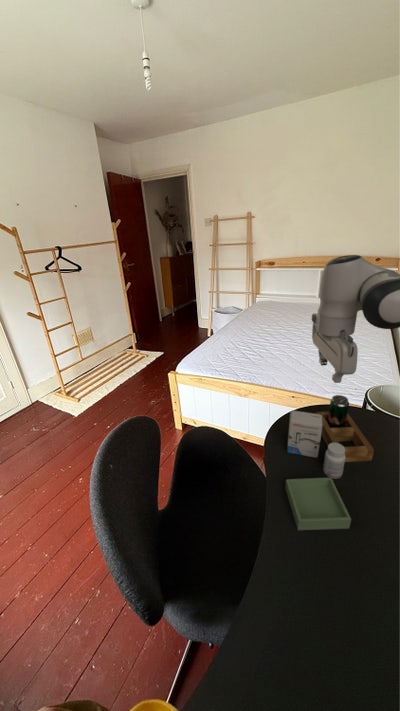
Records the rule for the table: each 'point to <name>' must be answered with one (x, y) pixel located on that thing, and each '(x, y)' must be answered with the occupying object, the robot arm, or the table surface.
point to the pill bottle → (334, 460)
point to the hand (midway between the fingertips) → (329, 372)
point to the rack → (347, 439)
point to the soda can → (338, 411)
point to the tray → (316, 504)
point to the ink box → (304, 433)
